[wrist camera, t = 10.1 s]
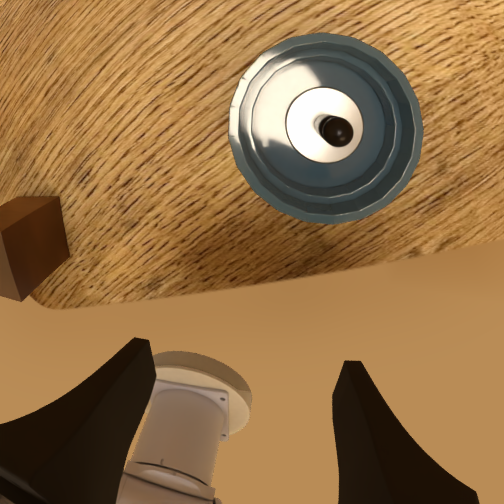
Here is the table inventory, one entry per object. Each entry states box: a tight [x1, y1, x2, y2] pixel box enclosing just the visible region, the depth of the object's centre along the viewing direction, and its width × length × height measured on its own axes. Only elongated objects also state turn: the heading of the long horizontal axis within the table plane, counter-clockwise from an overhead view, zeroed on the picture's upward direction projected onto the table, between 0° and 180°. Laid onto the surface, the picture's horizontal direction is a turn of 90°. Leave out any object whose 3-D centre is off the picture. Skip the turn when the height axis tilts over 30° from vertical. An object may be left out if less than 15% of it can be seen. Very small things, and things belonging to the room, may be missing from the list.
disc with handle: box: [285, 86, 364, 164], centre depth 13 cm, size 4×4×6 cm
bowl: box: [228, 32, 424, 225], centre depth 15 cm, size 9×9×4 cm
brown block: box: [0, 197, 70, 302], centre depth 18 cm, size 5×5×6 cm
